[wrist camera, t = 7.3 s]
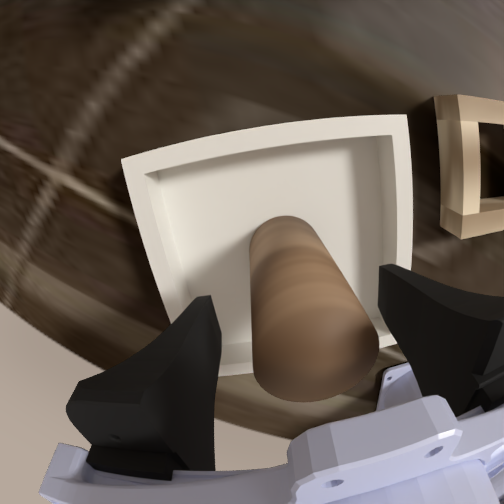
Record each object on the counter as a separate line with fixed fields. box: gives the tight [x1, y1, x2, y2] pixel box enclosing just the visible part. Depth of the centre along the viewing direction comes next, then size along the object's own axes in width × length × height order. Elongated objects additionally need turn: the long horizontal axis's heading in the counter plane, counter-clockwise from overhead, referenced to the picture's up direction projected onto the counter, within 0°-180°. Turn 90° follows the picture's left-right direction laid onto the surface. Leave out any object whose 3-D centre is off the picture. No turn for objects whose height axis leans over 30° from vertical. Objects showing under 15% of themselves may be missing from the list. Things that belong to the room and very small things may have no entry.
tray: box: [121, 115, 413, 376], centre depth 16 cm, size 14×14×2 cm
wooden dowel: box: [249, 215, 380, 402], centre depth 13 cm, size 4×4×9 cm
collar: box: [433, 95, 504, 239], centre depth 14 cm, size 8×8×2 cm
